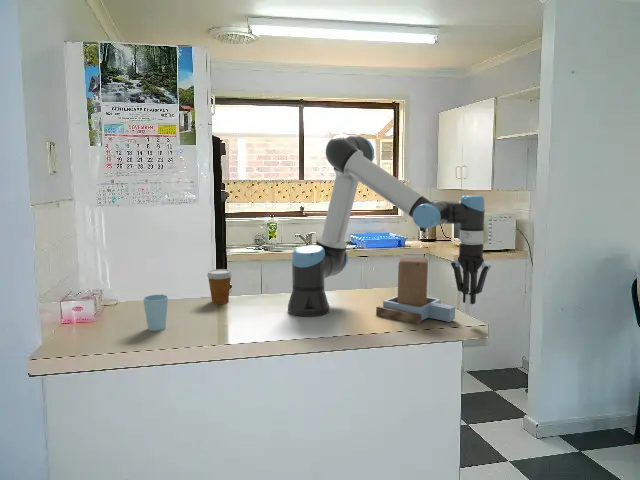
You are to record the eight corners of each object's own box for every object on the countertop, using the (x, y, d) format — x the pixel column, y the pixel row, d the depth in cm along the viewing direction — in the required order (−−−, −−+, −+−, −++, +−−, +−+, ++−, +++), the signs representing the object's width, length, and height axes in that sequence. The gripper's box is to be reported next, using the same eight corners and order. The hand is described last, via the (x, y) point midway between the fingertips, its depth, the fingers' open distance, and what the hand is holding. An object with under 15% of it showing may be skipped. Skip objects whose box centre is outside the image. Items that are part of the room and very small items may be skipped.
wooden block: (425, 318, 181) (427, 262, 178) (397, 316, 183) (398, 261, 180) (426, 310, 190) (427, 257, 187) (398, 309, 192) (399, 256, 189)
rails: (376, 315, 185) (376, 306, 184) (403, 303, 199) (403, 296, 199) (418, 324, 174) (419, 315, 174) (444, 311, 189) (444, 303, 188)
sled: (382, 313, 185) (383, 300, 185) (404, 304, 197) (404, 292, 196) (442, 325, 171) (442, 312, 170) (461, 315, 182) (461, 303, 182)
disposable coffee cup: (230, 304, 197) (229, 274, 196) (205, 304, 198) (204, 273, 196) (234, 298, 207) (233, 269, 205) (210, 298, 207) (209, 268, 205)
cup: (166, 332, 165) (164, 300, 164) (141, 332, 165) (140, 300, 164) (171, 324, 173) (170, 294, 171) (148, 325, 173) (146, 294, 171)
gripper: (447, 242, 170) (445, 312, 174) (486, 246, 162) (483, 319, 166) (457, 239, 176) (455, 307, 180) (495, 243, 168) (492, 313, 171)
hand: (468, 312), depth 173 cm, fingers closed
